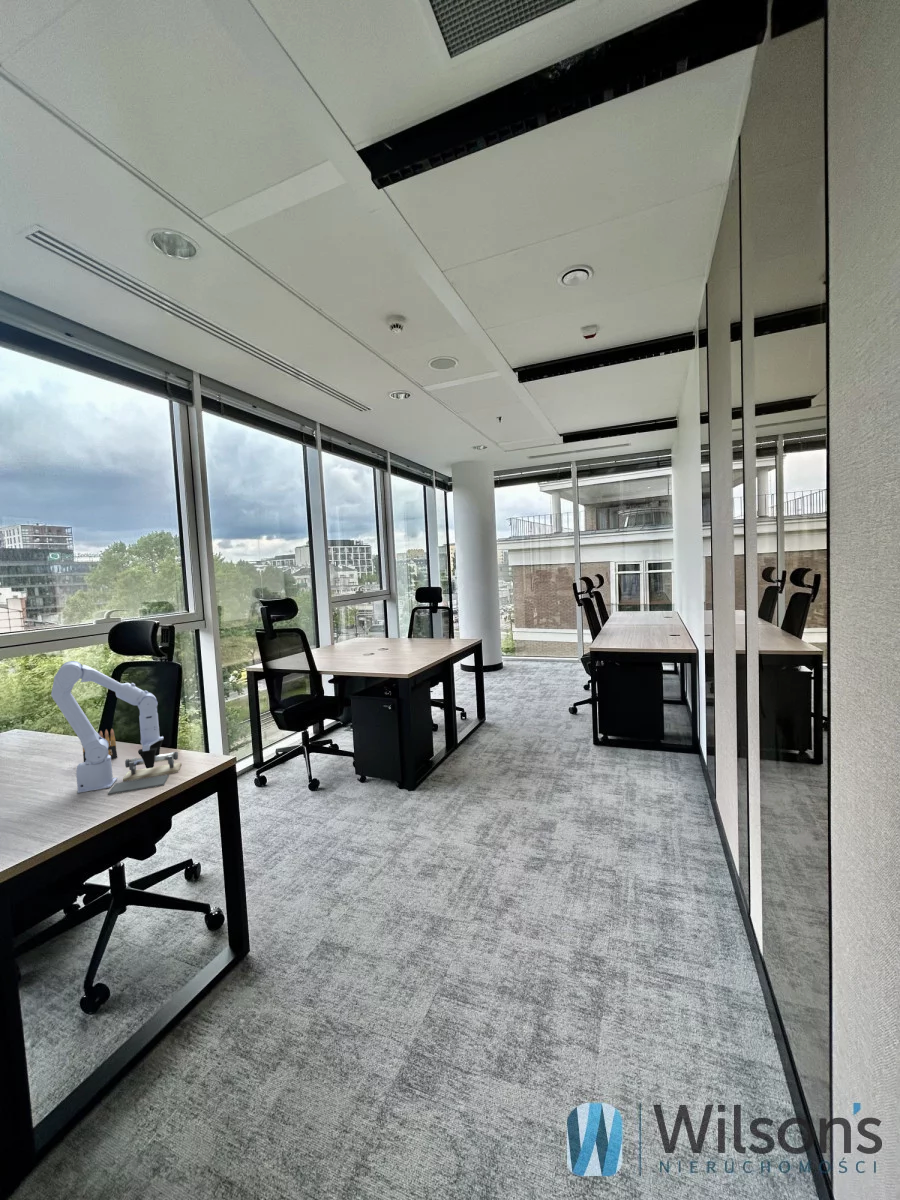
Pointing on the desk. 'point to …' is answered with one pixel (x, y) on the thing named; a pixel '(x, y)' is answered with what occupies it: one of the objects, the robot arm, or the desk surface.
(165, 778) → the rubber mat
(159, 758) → the rail
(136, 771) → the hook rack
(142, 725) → the robot arm
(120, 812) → the desk surface
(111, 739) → the ammunition clip
